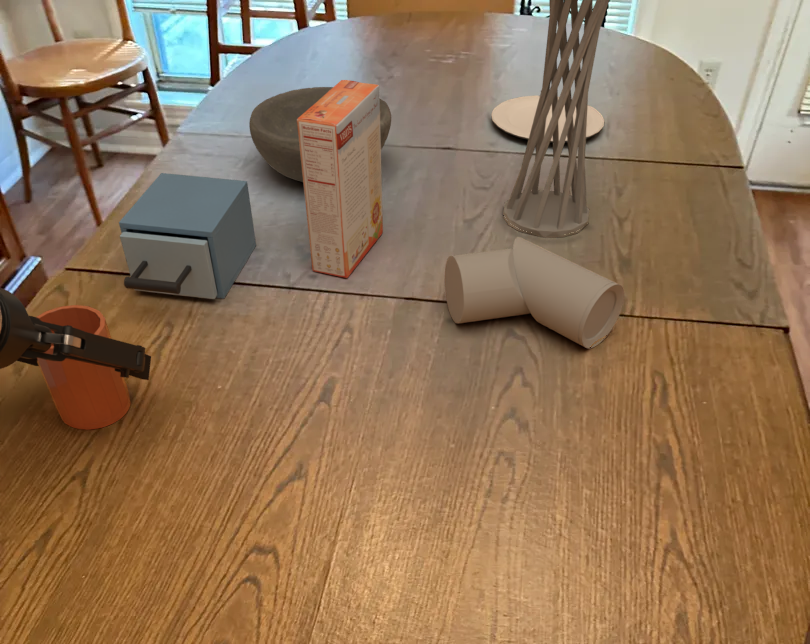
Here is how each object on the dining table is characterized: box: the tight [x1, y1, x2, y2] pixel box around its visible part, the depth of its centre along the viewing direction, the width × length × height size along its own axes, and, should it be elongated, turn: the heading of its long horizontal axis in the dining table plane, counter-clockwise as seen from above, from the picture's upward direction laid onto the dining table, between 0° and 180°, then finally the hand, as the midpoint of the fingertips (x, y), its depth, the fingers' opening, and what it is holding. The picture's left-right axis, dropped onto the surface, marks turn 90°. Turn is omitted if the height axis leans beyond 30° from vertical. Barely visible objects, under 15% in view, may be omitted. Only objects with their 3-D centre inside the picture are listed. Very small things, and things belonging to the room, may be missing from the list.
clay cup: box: [36, 304, 132, 431], centre depth 88 cm, size 8×8×11 cm
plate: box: [490, 95, 605, 144], centre depth 145 cm, size 21×21×2 cm
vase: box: [502, 0, 610, 239], centre depth 110 cm, size 14×13×35 cm
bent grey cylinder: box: [444, 236, 625, 349], centre depth 101 cm, size 18×11×20 cm
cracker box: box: [297, 79, 384, 279], centre depth 107 cm, size 14×6×21 cm, turn 159°
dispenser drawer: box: [119, 229, 217, 300], centre depth 105 cm, size 19×11×8 cm, turn 170°
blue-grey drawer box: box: [118, 172, 257, 300], centre depth 109 cm, size 15×13×10 cm
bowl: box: [248, 86, 392, 183], centre depth 129 cm, size 23×22×10 cm
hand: (93, 361), depth 90 cm, fingers open, 12 cm apart
